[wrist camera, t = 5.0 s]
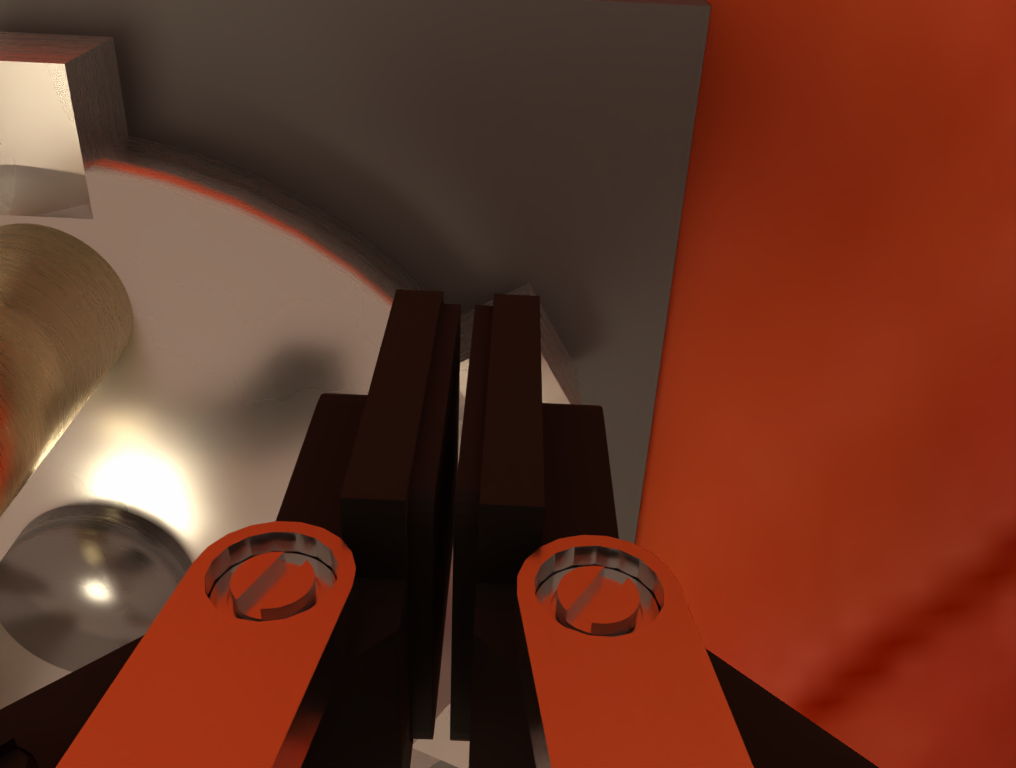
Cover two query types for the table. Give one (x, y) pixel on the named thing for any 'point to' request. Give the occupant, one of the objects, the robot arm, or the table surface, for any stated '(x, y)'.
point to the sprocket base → (451, 148)
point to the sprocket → (161, 361)
